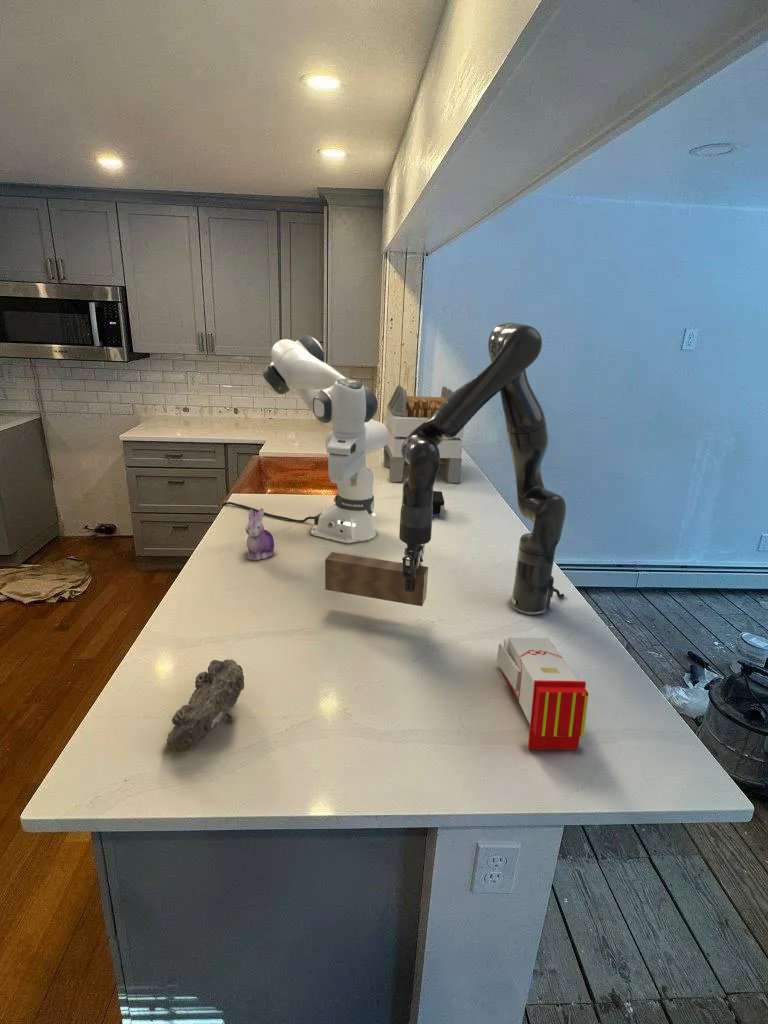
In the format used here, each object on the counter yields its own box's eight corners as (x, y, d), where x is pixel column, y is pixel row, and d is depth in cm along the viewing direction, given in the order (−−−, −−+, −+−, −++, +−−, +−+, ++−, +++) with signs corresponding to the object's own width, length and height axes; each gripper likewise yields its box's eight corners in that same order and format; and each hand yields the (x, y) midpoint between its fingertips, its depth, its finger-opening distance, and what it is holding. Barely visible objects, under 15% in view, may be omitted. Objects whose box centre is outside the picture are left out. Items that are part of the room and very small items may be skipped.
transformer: (382, 463, 289) (386, 382, 275) (445, 464, 293) (451, 384, 279) (390, 482, 257) (394, 392, 243) (460, 483, 261) (468, 394, 247)
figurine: (249, 563, 172) (248, 517, 167) (241, 550, 180) (239, 506, 175) (280, 558, 176) (279, 513, 171) (270, 546, 184) (269, 502, 179)
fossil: (192, 660, 117) (244, 628, 112) (224, 691, 120) (276, 661, 115) (142, 746, 98) (202, 712, 93) (182, 779, 101) (242, 748, 96)
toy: (545, 621, 128) (598, 688, 99) (540, 675, 131) (589, 757, 102) (492, 620, 128) (529, 687, 98) (488, 674, 131) (522, 756, 101)
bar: (325, 589, 143) (325, 559, 140) (331, 581, 147) (331, 551, 144) (422, 606, 137) (424, 574, 134) (426, 597, 141) (428, 566, 138)
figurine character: (444, 523, 215) (440, 506, 228) (446, 505, 211) (442, 489, 225) (427, 523, 215) (424, 505, 228) (428, 505, 211) (425, 488, 225)
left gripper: (350, 432, 163) (349, 479, 168) (324, 448, 144) (323, 499, 149) (371, 435, 161) (370, 481, 166) (347, 450, 143) (346, 502, 147)
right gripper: (425, 533, 125) (420, 602, 131) (437, 513, 138) (432, 576, 144) (392, 529, 127) (389, 596, 133) (407, 509, 140) (404, 571, 146)
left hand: (347, 490), depth 157 cm, fingers open, 8 cm apart
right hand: (412, 585), depth 139 cm, fingers closed on bar, 4 cm apart
